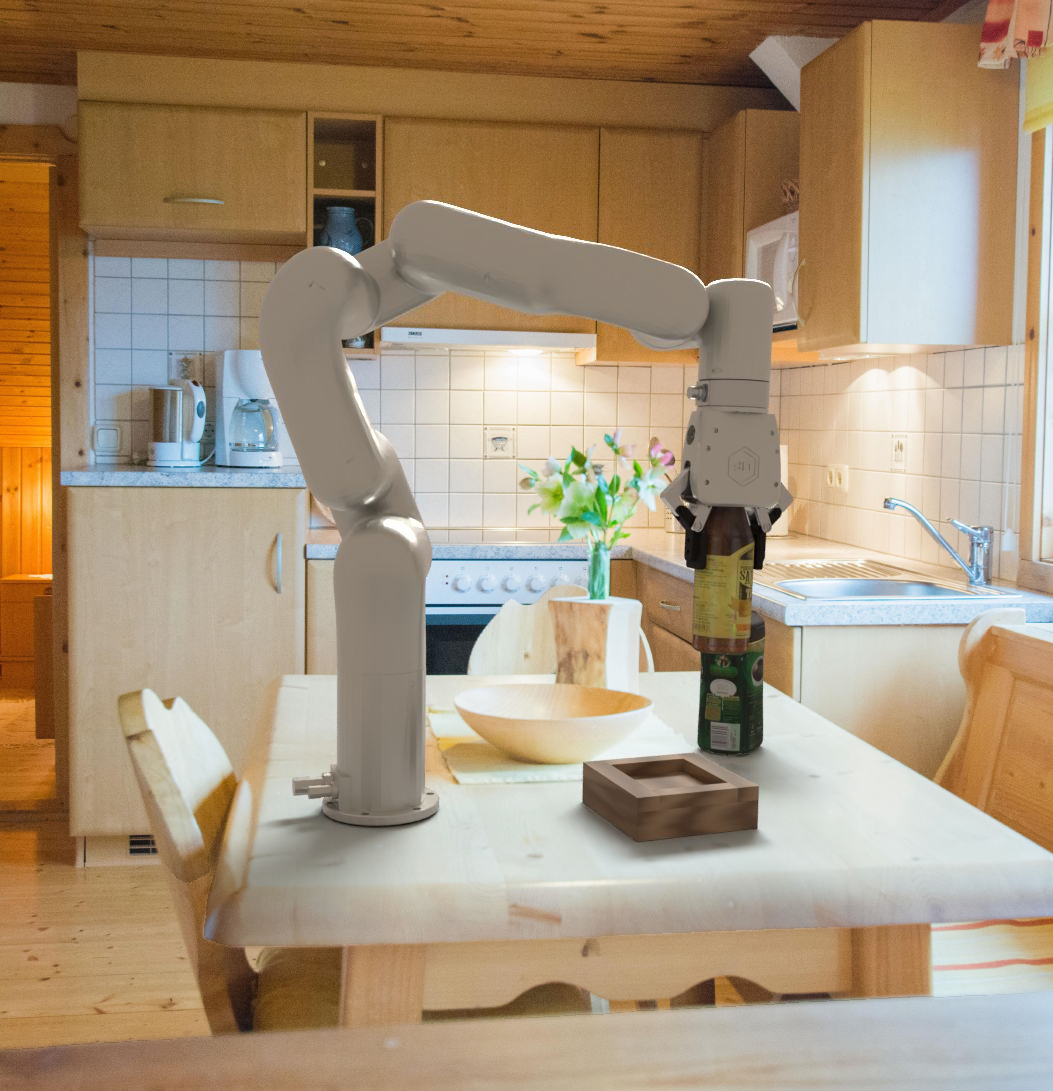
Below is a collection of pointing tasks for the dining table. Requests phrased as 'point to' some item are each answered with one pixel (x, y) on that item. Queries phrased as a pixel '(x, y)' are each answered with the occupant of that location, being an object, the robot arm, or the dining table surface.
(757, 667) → the coffee jar
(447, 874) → the dining table surface
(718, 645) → the sauce bottle
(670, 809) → the walnut block
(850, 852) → the dining table surface
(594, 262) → the robot arm
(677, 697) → the dining table surface
